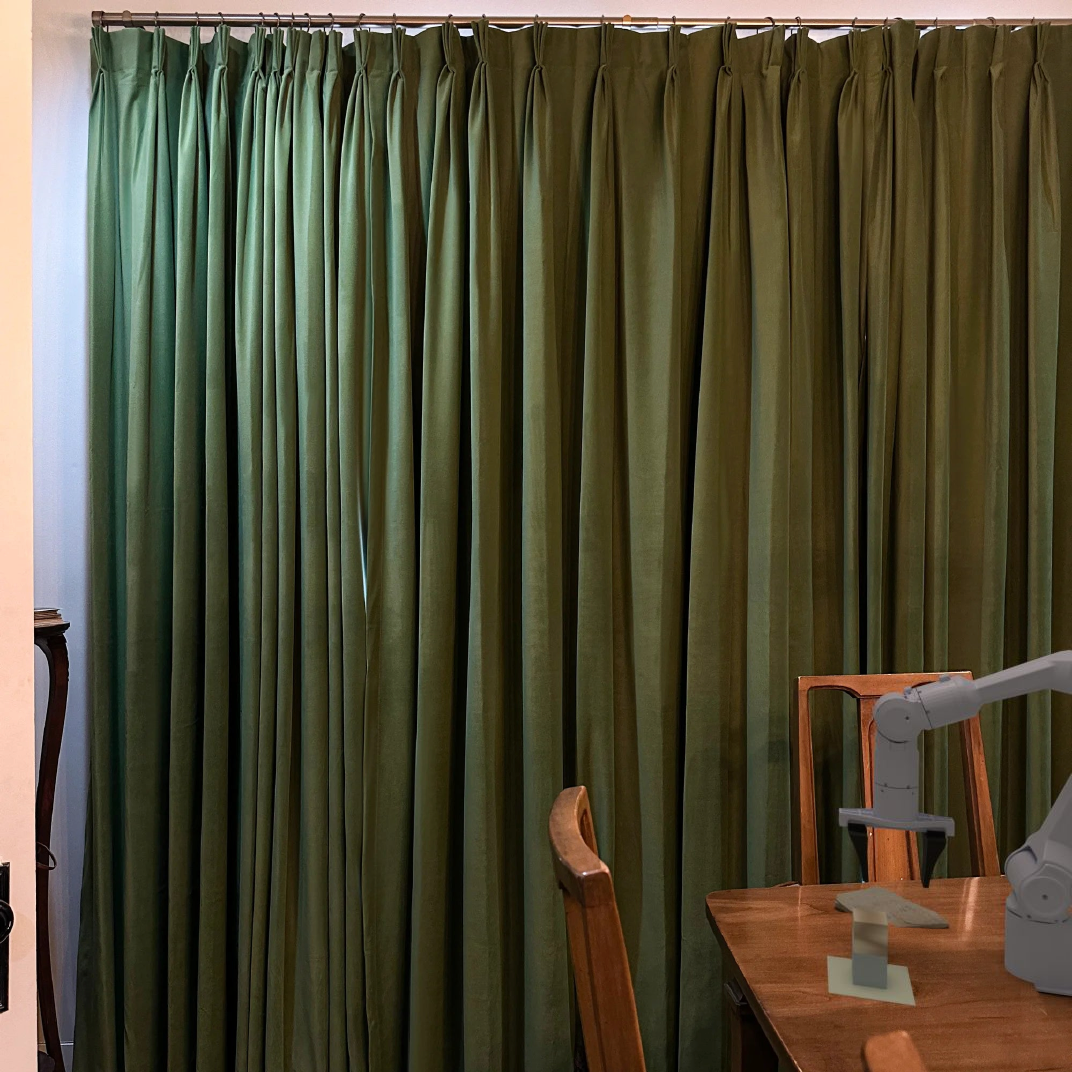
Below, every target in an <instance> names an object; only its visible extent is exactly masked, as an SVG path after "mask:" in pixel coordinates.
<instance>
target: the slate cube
mask: <svg viewBox="0 0 1072 1072" xmlns="http://www.w3.org/2000/svg"><path fill="white" fill-rule="evenodd" d="M851 959H852V978H853V985H860V986H867V987H874V988H881V989H887V964H888V957H883V956H876V955H868V954H861V953H854V951H853V941H852V940H851Z"/></svg>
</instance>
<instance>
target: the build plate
mask: <svg viewBox="0 0 1072 1072" xmlns="http://www.w3.org/2000/svg"><path fill="white" fill-rule="evenodd" d="M826 959H827V962H826V964H827V985H828V994H834V995H835V994H836V995H841V996H848V997H854V998H860V999H865V1000H873V1001H880V1002H886V1003H894V1004H901V1005H907V1006H914V1007H916V1001H915V997H914V992H913V987H912V983H911V979H910V974H909V969H908V967H907V966H903V965H896V964H891V963H889V964H888V963H887V989H881V988H874V987H867V986H860V985H853V978H852V958H847V957H840V956H838V957H837V956H832V955H826Z"/></svg>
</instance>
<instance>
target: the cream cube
mask: <svg viewBox="0 0 1072 1072" xmlns="http://www.w3.org/2000/svg"><path fill="white" fill-rule="evenodd" d="M851 929H852V937H851V942H852V941H853V951H854V953H861V954H868V955H876V956H883V957H887V958H888V957H889V956H888V947H889V946H888V945H889V940H888V939H889V923H888V922H887V917H886V912H879V911H871V910H864V909H856V908H853V914H852V928H851Z"/></svg>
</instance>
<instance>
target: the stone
mask: <svg viewBox="0 0 1072 1072" xmlns="http://www.w3.org/2000/svg"><path fill="white" fill-rule="evenodd" d="M834 906H835V908H837V909H838V910H839V911H841V912H843V913H845V914H852V915H853V908H856V909H864V910H871V911H879V912H886V917H887V922H888V924H891V925H892V926H893V927H894V926H895V927H896V928H908V929H910V928H911V929H912V928H913V929H914V928H915V929H918V928H920V929H945V928H947V927H949V926H950V922H949V921H948V920H947V919H945V917H943V916H942V915H940V914H939V913H938V912H937V911H934V910H931V909H929V908H928V907H924V906H921V905H919V904H917V903H914V902H912V901H910V900H908V899H906V898H904V897H901V896H900V895H899V894H898V893H896V892H894V891H892V890H890V889H887V888H885V887H883V886H870V887H868V888H865V889H859V890H858V889H857V890H854V891H848V892H843V893H837V894H836V898H835V901H834Z"/></svg>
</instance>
